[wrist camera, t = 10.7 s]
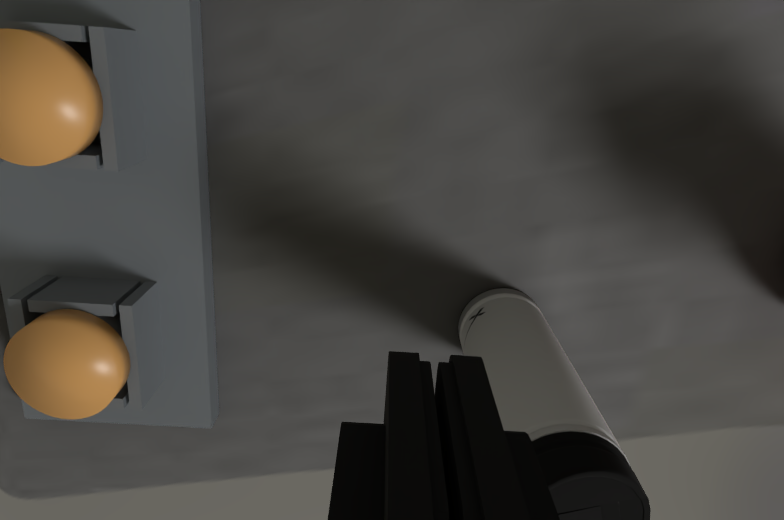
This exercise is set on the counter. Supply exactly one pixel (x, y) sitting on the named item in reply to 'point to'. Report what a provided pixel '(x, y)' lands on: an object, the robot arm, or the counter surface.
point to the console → (124, 207)
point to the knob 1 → (45, 99)
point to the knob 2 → (68, 363)
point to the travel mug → (550, 408)
